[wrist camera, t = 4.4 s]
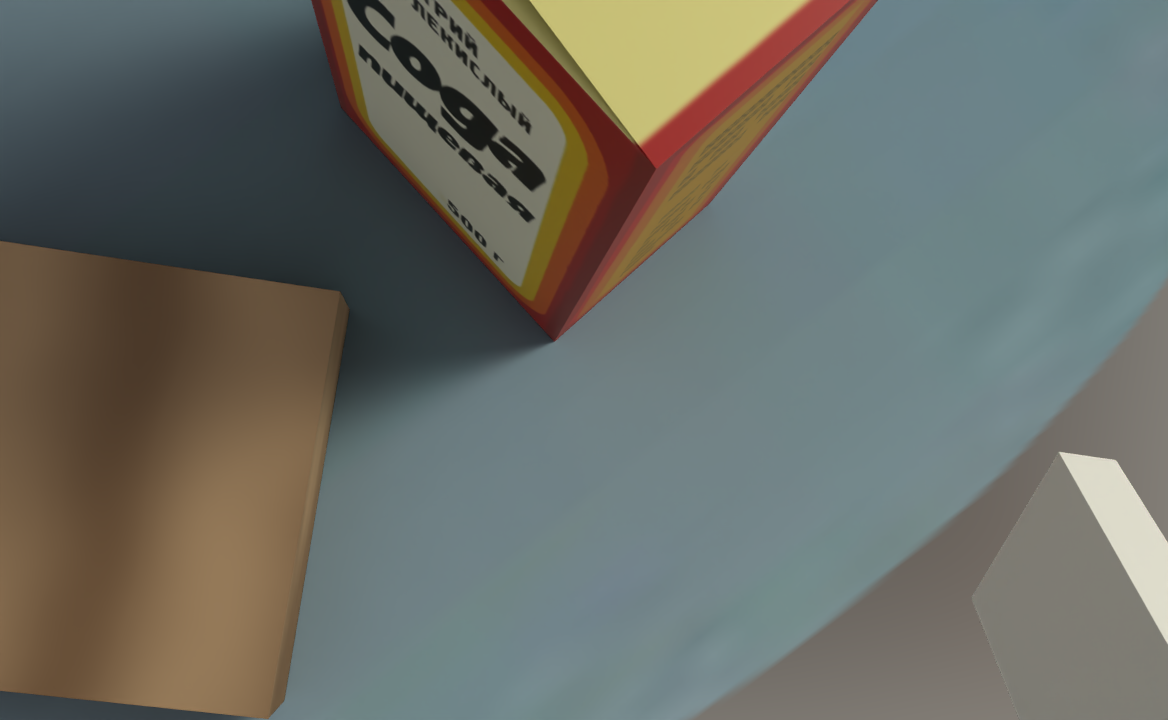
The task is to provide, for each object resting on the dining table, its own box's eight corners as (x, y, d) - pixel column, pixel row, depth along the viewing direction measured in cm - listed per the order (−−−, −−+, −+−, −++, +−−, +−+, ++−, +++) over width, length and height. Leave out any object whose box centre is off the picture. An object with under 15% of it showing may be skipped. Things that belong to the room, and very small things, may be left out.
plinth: (-142, 654, 27) (-203, 669, 24) (-47, 251, 29) (-95, 226, 26) (284, 700, 28) (267, 718, 26) (349, 309, 30) (340, 291, 27)
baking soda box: (341, 107, 31) (222, -317, 15) (503, -21, 32) (551, -537, 16) (554, 341, 30) (661, 160, 15) (709, 203, 32) (960, -100, 16)
